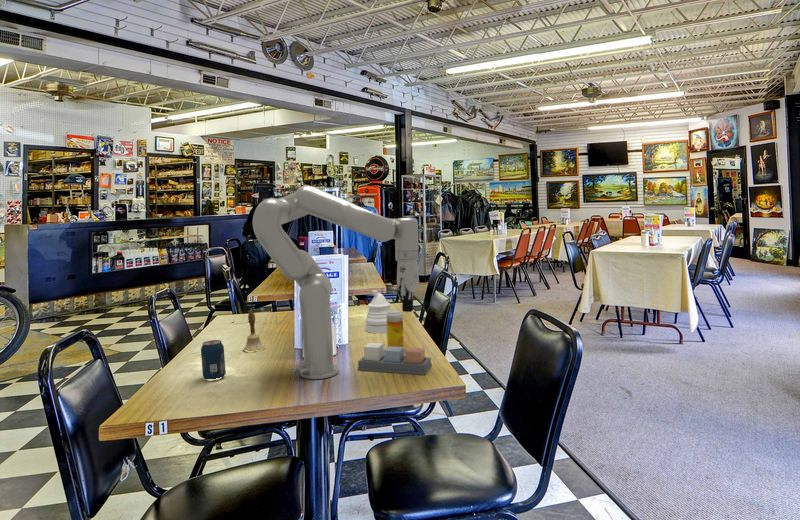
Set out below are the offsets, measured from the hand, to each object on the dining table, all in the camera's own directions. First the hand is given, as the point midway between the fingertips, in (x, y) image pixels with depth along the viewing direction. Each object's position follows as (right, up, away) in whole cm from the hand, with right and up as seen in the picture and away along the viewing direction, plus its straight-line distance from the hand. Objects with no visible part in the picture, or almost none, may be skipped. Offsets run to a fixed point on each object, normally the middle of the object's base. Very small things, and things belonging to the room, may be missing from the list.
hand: (407, 311), depth 153 cm
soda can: (-63, -22, -1) cm, 67 cm away
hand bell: (-60, -19, +31) cm, 71 cm away
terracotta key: (+3, -17, 0) cm, 17 cm away
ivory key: (-11, -16, +4) cm, 20 cm away
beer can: (-4, -18, +23) cm, 29 cm away
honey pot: (-11, -15, +56) cm, 59 cm away
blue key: (-4, -17, +2) cm, 18 cm away
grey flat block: (-4, -19, +3) cm, 20 cm away
